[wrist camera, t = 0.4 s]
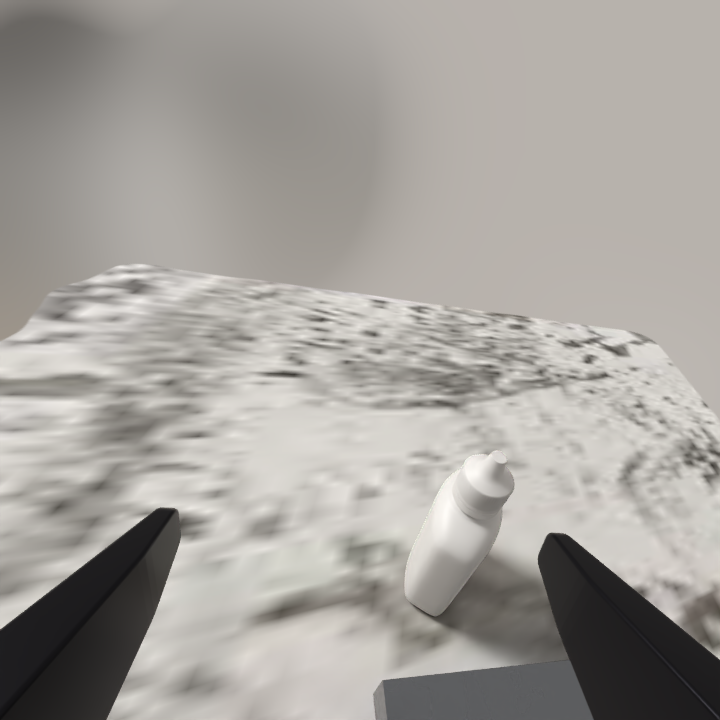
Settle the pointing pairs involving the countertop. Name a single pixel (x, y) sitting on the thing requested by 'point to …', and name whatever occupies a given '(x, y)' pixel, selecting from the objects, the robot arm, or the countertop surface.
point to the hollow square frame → (486, 695)
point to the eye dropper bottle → (458, 531)
